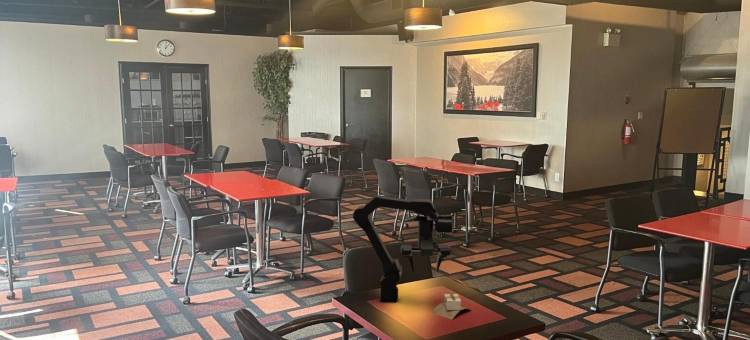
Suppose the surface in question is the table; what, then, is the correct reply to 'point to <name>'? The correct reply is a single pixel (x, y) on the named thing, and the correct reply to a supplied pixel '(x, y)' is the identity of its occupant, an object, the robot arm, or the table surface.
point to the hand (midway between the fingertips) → (425, 271)
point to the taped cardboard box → (452, 302)
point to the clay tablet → (445, 311)
